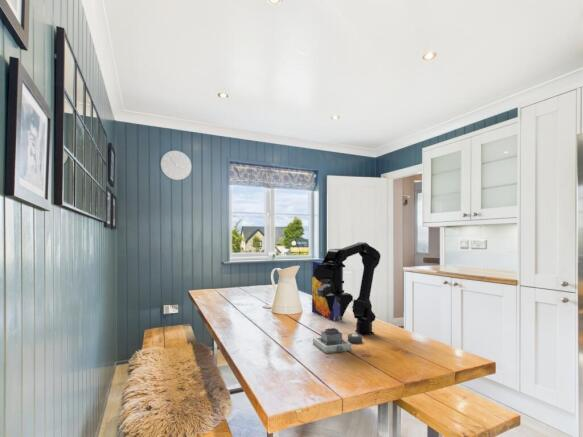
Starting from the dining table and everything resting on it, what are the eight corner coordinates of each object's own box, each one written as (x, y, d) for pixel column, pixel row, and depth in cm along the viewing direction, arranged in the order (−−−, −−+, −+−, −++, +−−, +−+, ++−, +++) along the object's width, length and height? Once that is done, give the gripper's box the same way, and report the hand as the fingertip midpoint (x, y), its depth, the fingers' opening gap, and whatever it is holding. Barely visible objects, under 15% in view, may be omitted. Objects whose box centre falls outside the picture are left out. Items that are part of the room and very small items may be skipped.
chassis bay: (335, 339, 142) (335, 333, 142) (353, 351, 128) (353, 345, 129) (311, 342, 138) (311, 336, 138) (327, 355, 124) (327, 348, 124)
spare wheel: (356, 338, 145) (356, 332, 145) (364, 342, 139) (364, 336, 139) (345, 339, 142) (345, 333, 143) (352, 344, 137) (352, 338, 137)
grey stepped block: (336, 342, 137) (336, 327, 137) (342, 345, 132) (342, 330, 133) (321, 343, 134) (321, 328, 135) (326, 347, 130) (327, 332, 130)
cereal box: (311, 312, 191) (312, 261, 193) (320, 311, 194) (321, 260, 195) (333, 321, 172) (333, 264, 173) (342, 320, 175) (342, 264, 176)
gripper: (309, 276, 147) (309, 310, 147) (329, 282, 130) (330, 322, 130) (331, 274, 151) (331, 308, 151) (353, 280, 134) (353, 318, 134)
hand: (335, 314), depth 141 cm, fingers open, 9 cm apart
